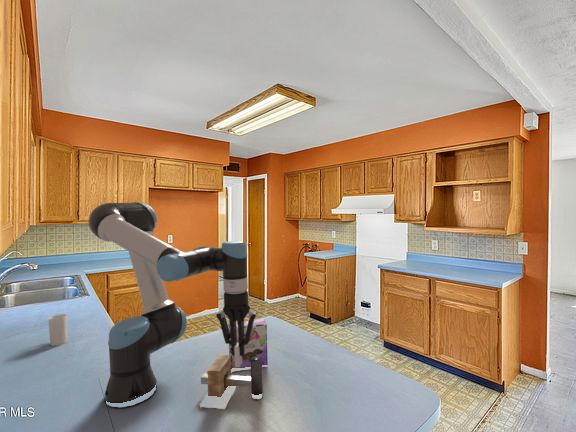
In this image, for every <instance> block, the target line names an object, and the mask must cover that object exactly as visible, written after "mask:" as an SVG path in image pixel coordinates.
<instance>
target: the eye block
mask: <svg viewBox="0 0 576 432" xmlns="http://www.w3.org/2000/svg"><path fill="white" fill-rule="evenodd" d="M206 370H207V372H206V374H207V375H208V384H207V392H208V396H217V397H221V396H222V394H223V393H224V391H225V390H226V388H227V387H228V386H224V376H225V375H233V374H232V373H231V355H229V354H219V355H218V356H217V357H216V358H215V360H214V362H212V364H211V365H210V367H208V369H206Z"/></svg>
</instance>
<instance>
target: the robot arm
mask: <svg viewBox="0 0 576 432" xmlns="http://www.w3.org/2000/svg"><path fill="white" fill-rule="evenodd" d="M157 222H158V217H157V214H156V212H155V210H154V208H152V206H150V205H149V204H147V203H145V202H106V203H102V204H100V205H98V206H96V207H95V208H94V209H92V211H91V212H90V214H89V217H88V227H89V230H90V231H91V232H92V233H93V235H95V237H97V238H99V239H100V240H102V241H104V242H112V243H113V244H116V245H117V246H118V247H121V248H122V249H124V250H126V251H128V255H129V258H130V262H131V265H132V269H133V271H134V276H135V279H136V284H137V286H138V291H139V295H140V297H141V301H142V304H143V305H142V306H143V309H142V312H141V314H140V315H138V316H132V317H128V318H125V319H122V320H119V321H118V322H117V323H116V324H114V325H113V326H112V327H111V328H110V330H109V332H108V343H107V344H108V352H109V354H108V356H109V357H108V358H109V373H110V374H109V378H108V382H107V384H106V389H105V391H104V401H105V400H106V401H107V402H110V403H123V402H127V401H131V400H134V399H136V398H138V397H140V396H143V395H144V394H146V393H148V392H150V391H151V390H152V389H153V388H154V387H155V385H156V383H157V384H158V380H157V377H156V376H155V374H154V371H153V369H152V368H153V367H152V365H151V354H153V353H155V352H157V351H159V350H161V349H162V348H164V347H166V346H168V345H170V344H173V343H175V342H176V341H178V340H179V339H181V337H183V335H184V334H185V332H186V329H187V326H188V319H187V316H186V313H185V312H184V310H182V308H181V307H179V306H176V303H175V301H173V300H171V299H170V298H169V295H168V291H167V289H166V284H165V282H168V283H169V282H171V283H172V282H177V281H180V280H183V279H187V278H191V277H192V276H195V275H199V274H203V273H206V272H209V271H210V272H212V271H213V272H214V271H215V272H222V282H223V283H222V284H223V285H222V286H223V287H222V288H223V292H224V293H223V305H224V306H223V308H222V310H220V311H218V313H216V314H215V316H216V318H217V320H218V321H219V324H220V328H221V333H222V337H223V339H224V343H225V344H226V345H229V344H230V345H231V350H232V355H233V356H235V367H240V366H241V364H242V356H243V355H244V353H245V347H244V345H245V344H248V343H249V341H250V338H251V333H252V328H253V323H254V321H255V320H256V319H255V318H256V317H257V315H258V312H257V311H253V310H252V309H251V307H250V305H249V291H248V289H249V288H248V287H249V286H248V284H249V282H248V280H249V279H248V267H247V266H248V258H247V257H248V252H247V246H246V245H247V244H246V242H244V241H242V240H230V241H224V242H223V243H221V247H215V246H214V247H213V246H197V247H195V248H194V249H192V250H187V251H182V250H180V249H178V248H176V247H174V246H172V245H171V244H168V243H167V242H164V241H162V240H160V239H158V238H157V237H155V236H154V234H155V232H154V230H155V228H156V227H157ZM247 315H248V321H249V322H248V326H247V331H246V336H245V335H244V322H245V319H246V317H247ZM226 317H227V318H228V322H229V324H230V332H229V325H228V322H227V318H226ZM236 323H237V324H238V337H239V343H236V342H237V341H238V340H237V330H236ZM135 396H136V397H135Z"/></svg>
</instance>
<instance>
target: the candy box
mask: <svg viewBox="0 0 576 432" xmlns="http://www.w3.org/2000/svg"><path fill="white" fill-rule="evenodd" d="M248 322H249V320H247V321H244V335H245V336H246V331H247V326H248ZM227 324H228V328H229V332H230V324H229V323H228V322H227ZM267 329H268V324H267V323H266V321H265V319H264V318H261V319H257V320H256V319H254V323H253V328H252V333H251V338H250V341H249V343H248V344H245V345H244V347H245V353H244V355H243V356H242V364H241V366H240V367H235V356H233V355H232V350H231V345H230V344H228V355H231V369H232V368H245V367H251V363H250V359H251V357H253V356H260V357H262V365H268V331H267ZM236 330H237V340H238V341H237V342H236V343H239V337H238V324H237V322H236Z"/></svg>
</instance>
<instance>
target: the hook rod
mask: <svg viewBox="0 0 576 432" xmlns="http://www.w3.org/2000/svg"><path fill="white" fill-rule="evenodd" d="M250 363H251V370H250V375H246V376H245V375H236V374H235V375H233V374H232V375H225V376H224V386H238V387H239V388H241V387H242V388H250V389H251V390H250V392H251V393H252V394H254V395H259V394H262V393H264V385H263V382H264V379H263V368H262V357H260V356H253V357H251V359H250ZM200 385H208V375H207V373H203V374H202V375H201V377H200ZM238 387H237V388H238ZM251 393H250V394H251Z"/></svg>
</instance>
